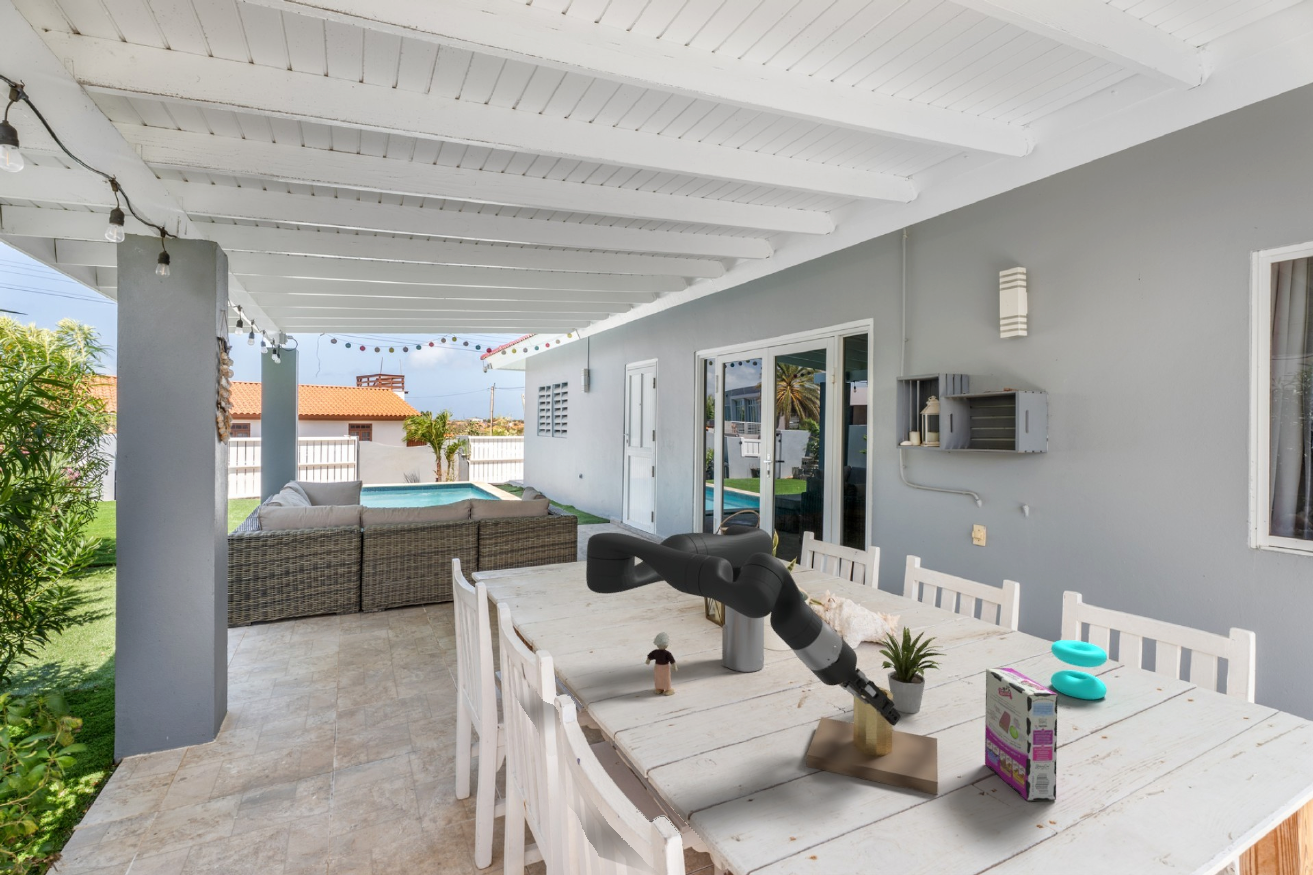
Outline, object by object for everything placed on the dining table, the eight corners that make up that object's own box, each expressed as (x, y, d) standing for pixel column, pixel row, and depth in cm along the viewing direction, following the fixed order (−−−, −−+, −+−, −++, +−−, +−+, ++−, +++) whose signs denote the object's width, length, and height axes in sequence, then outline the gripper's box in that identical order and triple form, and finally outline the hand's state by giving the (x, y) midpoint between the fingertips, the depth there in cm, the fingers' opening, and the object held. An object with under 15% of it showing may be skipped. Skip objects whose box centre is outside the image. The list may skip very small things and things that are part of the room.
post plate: (806, 766, 105) (807, 711, 105) (821, 727, 119) (821, 679, 119) (937, 794, 97) (938, 735, 97) (937, 749, 111) (937, 697, 110)
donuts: (1110, 645, 136) (1103, 657, 128) (1109, 691, 136) (1102, 706, 128) (1056, 634, 142) (1046, 645, 135) (1056, 678, 142) (1046, 692, 135)
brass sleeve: (851, 750, 106) (852, 696, 106) (855, 734, 112) (856, 683, 112) (891, 758, 104) (891, 703, 104) (893, 741, 109) (893, 689, 109)
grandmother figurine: (681, 690, 135) (681, 632, 135) (676, 697, 132) (676, 637, 131) (647, 685, 138) (648, 628, 138) (641, 692, 134) (641, 633, 134)
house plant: (907, 732, 117) (907, 645, 117) (852, 703, 129) (852, 624, 129) (958, 716, 123) (958, 633, 123) (901, 690, 136) (901, 615, 136)
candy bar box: (1058, 801, 95) (1060, 693, 95) (1027, 802, 95) (1028, 695, 95) (1011, 762, 107) (1012, 666, 106) (983, 763, 106) (984, 667, 106)
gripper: (787, 652, 111) (843, 709, 114) (831, 683, 97) (894, 747, 101) (814, 620, 112) (869, 676, 116) (861, 646, 99) (922, 710, 102)
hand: (880, 709), depth 108 cm, fingers open, 8 cm apart
